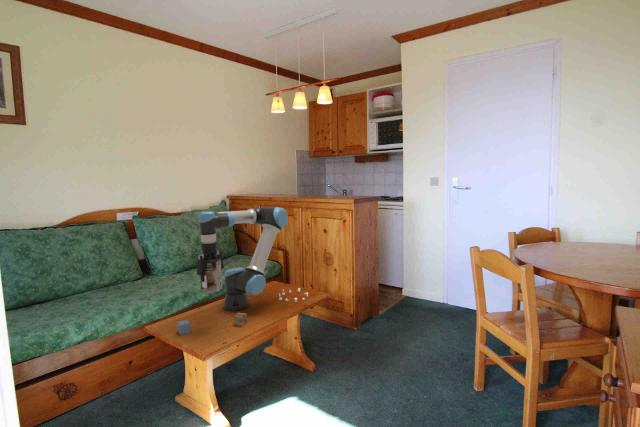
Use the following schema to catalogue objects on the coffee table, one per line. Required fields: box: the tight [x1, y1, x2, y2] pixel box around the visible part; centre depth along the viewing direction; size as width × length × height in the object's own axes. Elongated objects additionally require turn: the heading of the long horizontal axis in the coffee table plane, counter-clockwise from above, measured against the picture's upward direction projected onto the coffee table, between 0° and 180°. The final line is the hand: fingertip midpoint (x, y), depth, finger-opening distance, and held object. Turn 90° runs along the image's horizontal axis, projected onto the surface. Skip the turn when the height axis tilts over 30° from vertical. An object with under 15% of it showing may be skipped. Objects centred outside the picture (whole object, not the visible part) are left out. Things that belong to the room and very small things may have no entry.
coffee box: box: [200, 259, 223, 293], centre depth 191 cm, size 9×6×16 cm
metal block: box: [233, 312, 248, 327], centre depth 198 cm, size 5×5×5 cm
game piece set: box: [278, 287, 309, 303], centre depth 237 cm, size 19×20×4 cm
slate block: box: [176, 319, 192, 336], centre depth 190 cm, size 5×5×5 cm
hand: (211, 285), depth 192 cm, fingers closed on coffee box, 8 cm apart
